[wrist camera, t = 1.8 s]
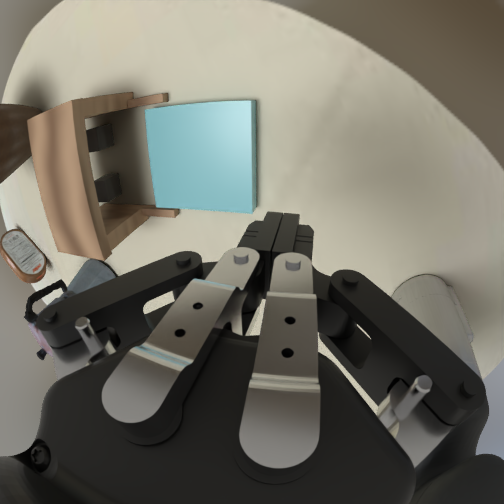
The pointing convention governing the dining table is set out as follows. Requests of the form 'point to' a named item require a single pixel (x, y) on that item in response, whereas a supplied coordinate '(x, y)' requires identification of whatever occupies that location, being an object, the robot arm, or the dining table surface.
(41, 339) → the moka pot
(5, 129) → the plant pot
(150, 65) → the dining table surface
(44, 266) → the tin
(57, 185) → the overhang bridge
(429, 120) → the dining table surface
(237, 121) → the teal plate
